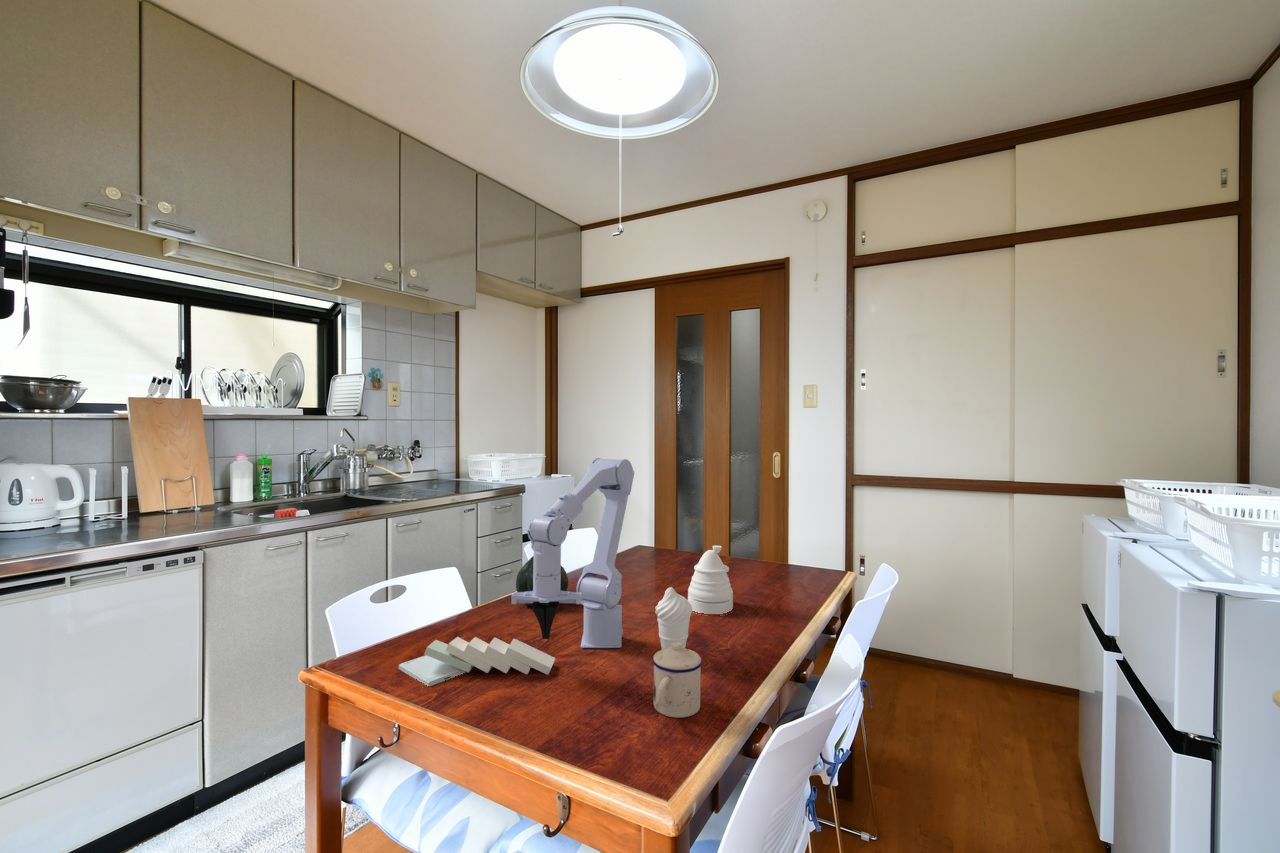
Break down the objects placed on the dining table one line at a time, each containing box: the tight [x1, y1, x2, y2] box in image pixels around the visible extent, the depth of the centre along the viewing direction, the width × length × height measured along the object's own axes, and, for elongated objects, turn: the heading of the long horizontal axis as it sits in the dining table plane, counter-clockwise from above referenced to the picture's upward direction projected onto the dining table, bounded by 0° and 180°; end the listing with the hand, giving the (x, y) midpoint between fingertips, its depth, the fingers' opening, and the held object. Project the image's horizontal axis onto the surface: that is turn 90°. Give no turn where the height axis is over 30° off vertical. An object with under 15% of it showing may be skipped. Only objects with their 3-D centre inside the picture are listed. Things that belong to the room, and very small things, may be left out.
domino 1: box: [423, 639, 475, 673], centre depth 117 cm, size 2×5×10 cm
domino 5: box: [505, 638, 556, 676], centre depth 117 cm, size 2×5×10 cm
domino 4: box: [484, 637, 532, 675], centre depth 117 cm, size 2×5×10 cm
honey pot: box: [687, 544, 734, 614], centre depth 158 cm, size 13×13×18 cm
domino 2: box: [445, 636, 494, 674], centre depth 117 cm, size 2×5×10 cm
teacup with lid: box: [652, 642, 703, 719], centre depth 101 cm, size 12×9×12 cm
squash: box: [515, 555, 569, 607], centre depth 162 cm, size 14×15×15 cm
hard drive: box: [398, 655, 466, 687], centre depth 116 cm, size 2×8×12 cm
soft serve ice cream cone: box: [654, 586, 693, 650], centre depth 123 cm, size 8×8×16 cm
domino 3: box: [464, 636, 512, 674], centre depth 117 cm, size 2×5×10 cm
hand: (546, 637), depth 117 cm, fingers closed
